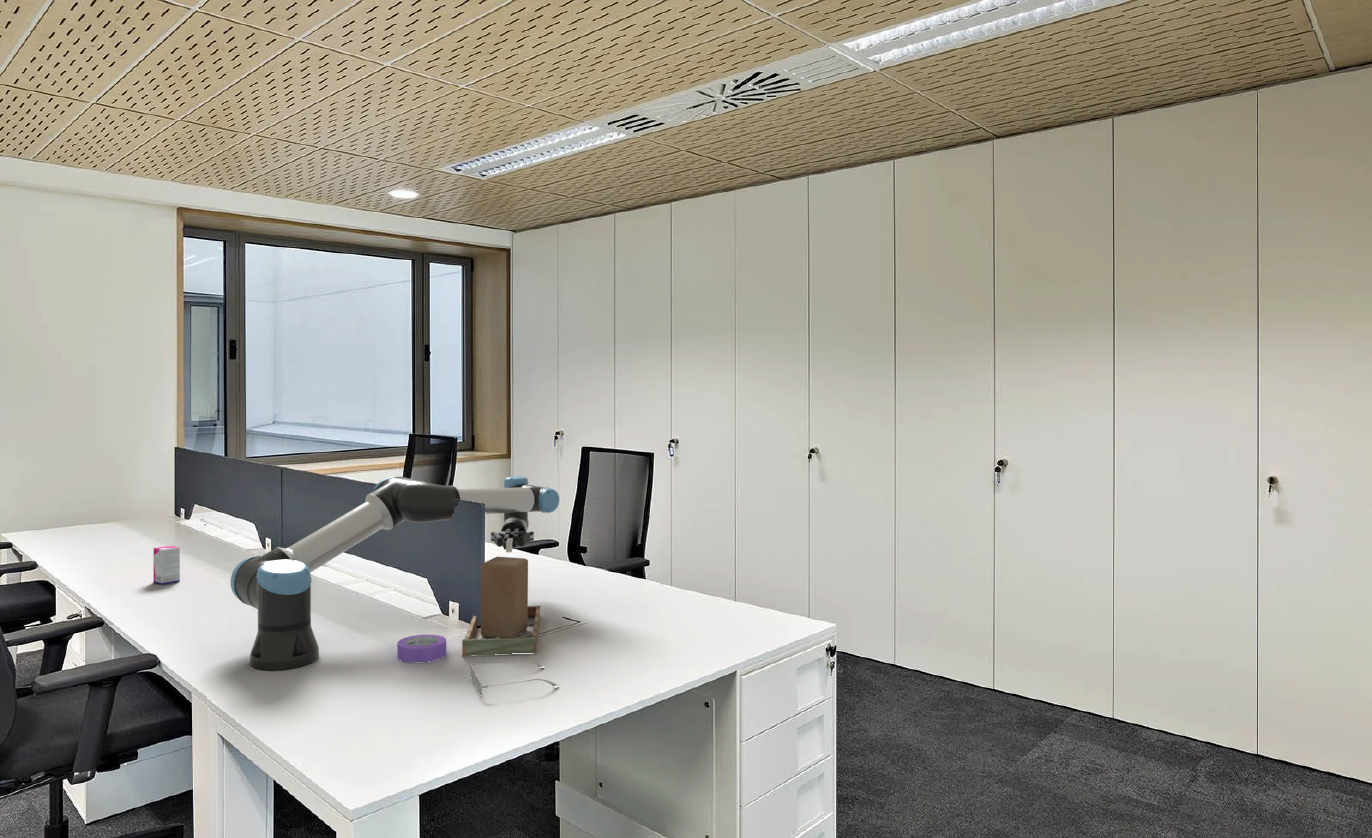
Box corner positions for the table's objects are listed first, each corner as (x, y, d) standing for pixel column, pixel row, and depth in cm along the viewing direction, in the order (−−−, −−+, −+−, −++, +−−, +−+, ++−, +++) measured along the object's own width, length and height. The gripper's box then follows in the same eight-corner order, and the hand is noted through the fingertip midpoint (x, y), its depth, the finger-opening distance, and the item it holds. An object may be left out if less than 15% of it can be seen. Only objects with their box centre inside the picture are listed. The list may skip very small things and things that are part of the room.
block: (514, 640, 226) (515, 565, 225) (479, 637, 228) (479, 563, 227) (528, 629, 235) (529, 557, 234) (494, 627, 237) (495, 555, 236)
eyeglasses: (468, 678, 199) (468, 661, 199) (545, 668, 206) (545, 652, 206) (480, 702, 185) (480, 684, 185) (562, 691, 192) (562, 673, 192)
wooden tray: (535, 654, 215) (535, 638, 215) (462, 656, 212) (462, 640, 212) (540, 616, 249) (540, 602, 248) (476, 617, 246) (476, 603, 246)
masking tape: (407, 647, 219) (407, 633, 219) (452, 649, 219) (452, 634, 219) (389, 663, 207) (389, 647, 207) (437, 664, 207) (437, 649, 207)
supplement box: (180, 581, 281) (180, 547, 281) (161, 585, 276) (161, 550, 276) (171, 579, 284) (171, 545, 284) (152, 582, 279) (152, 547, 279)
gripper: (535, 543, 264) (532, 560, 241) (492, 544, 263) (485, 561, 239) (535, 519, 264) (532, 533, 241) (492, 519, 262) (484, 534, 239)
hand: (508, 547), depth 240 cm, fingers closed
